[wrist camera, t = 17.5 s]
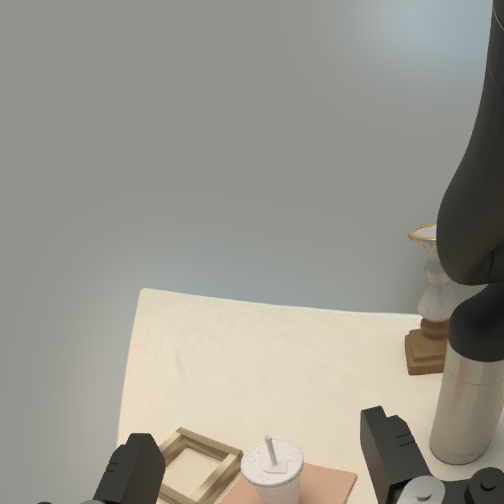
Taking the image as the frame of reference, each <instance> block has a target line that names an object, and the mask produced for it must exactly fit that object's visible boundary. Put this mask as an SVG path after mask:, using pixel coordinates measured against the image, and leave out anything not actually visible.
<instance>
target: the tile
mask: <svg viewBox="0 0 504 504" xmlns="http://www.w3.org/2000/svg"><path fill="white" fill-rule="evenodd" d="M356 477H357V473H351V472H345V471H340V470H335V469H330V468H325V467H320V466H316V465H311V464H307V463H304V468H303V471H302V473H301V476H300V490H299V503H298V504H344V503H345V501H346V499H347V497H348V495H349V493H350V491H351V488H352V486H353V484H354V482H355V480H356ZM219 504H265V502H264V501H263V500H262V498H261V497H260V495H259V494H258V492H257V491H256V490H255V488H254V487H253V486H252V485H251V484H250V483H248V482H247V481H246V480H245V478H244V477H243V475H242V477H241V478H240V479H239V480H238V482H237V483H236V484H235V485H234V487H233V488H232V489H231V490H230V491H229V493H228V494H227V495H226V496H225V497H224V499H223V500H222V501H221V502H220V503H219Z"/></svg>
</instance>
